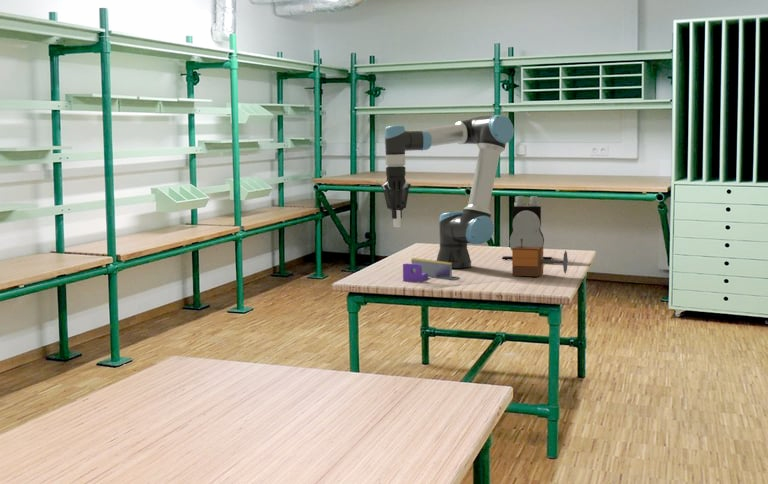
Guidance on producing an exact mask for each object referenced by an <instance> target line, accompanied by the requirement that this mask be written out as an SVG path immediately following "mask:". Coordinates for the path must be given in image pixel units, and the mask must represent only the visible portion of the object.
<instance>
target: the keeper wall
mask: <svg viewBox="0 0 768 484" xmlns="http://www.w3.org/2000/svg"><path fill="white" fill-rule="evenodd" d="M411 264H420V265H421V267H422V273H427V274H428V278H433V279H442V280H447V281H452V280H453V281H454V280H460V279H461V277H459V276H453V270H452V269H453V268H452V263H451V262H443V261H436V260H433V259H426V258H417V257H411ZM412 271H413V272H414V273H415V272H416V269H415V268H413V269H412Z"/></svg>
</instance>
